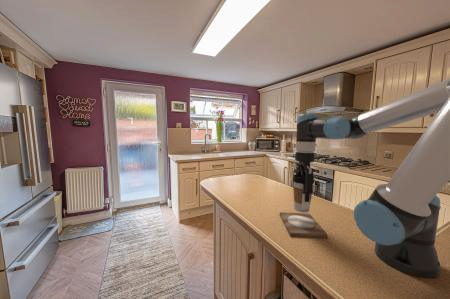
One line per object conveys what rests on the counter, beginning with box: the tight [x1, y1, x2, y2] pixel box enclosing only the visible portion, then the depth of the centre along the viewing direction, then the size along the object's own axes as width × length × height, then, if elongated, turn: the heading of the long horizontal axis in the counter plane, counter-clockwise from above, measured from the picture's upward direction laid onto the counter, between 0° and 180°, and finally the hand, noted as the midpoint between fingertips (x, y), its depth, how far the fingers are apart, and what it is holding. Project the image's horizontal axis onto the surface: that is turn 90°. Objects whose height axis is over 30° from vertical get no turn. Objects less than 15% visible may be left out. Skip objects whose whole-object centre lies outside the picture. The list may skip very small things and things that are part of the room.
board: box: [279, 211, 328, 239], centre depth 82 cm, size 18×14×2 cm
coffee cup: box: [292, 174, 315, 213], centre depth 81 cm, size 8×8×15 cm
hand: (301, 204), depth 81 cm, fingers closed on coffee cup, 8 cm apart
